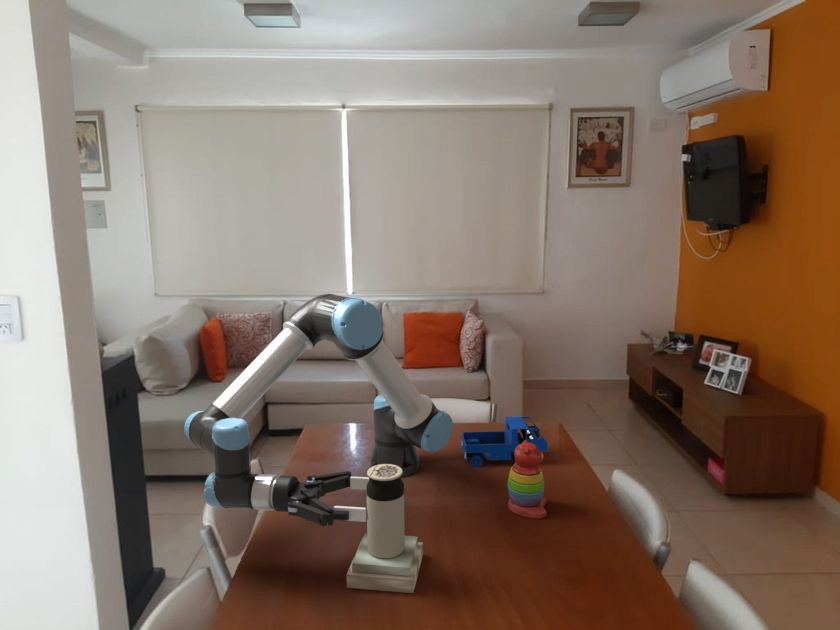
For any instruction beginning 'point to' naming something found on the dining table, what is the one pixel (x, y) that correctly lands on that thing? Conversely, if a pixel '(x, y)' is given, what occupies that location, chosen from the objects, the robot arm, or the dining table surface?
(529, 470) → the stacking bear
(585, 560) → the dining table surface
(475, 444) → the toy vehicle
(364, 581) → the plinth
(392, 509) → the travel mug
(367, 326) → the robot arm
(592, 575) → the dining table surface
